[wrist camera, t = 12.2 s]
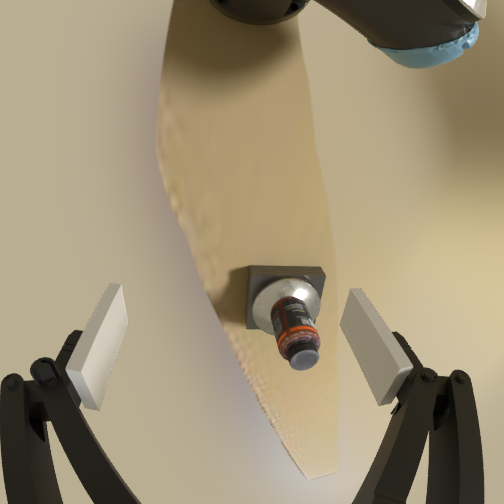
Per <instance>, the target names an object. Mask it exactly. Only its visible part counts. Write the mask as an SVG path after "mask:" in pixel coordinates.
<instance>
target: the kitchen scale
mask: <svg viewBox="0 0 504 504" xmlns="http://www.w3.org/2000/svg"><path fill="white" fill-rule="evenodd" d="M325 278H326V275H325V273H324V272H323V270H322V268H321V267H302V266H255V265H249V277H248V289H247V302H246V314H245V322H246V329H261V330H262V331H264V332H266V333H268V334H271V335H275V333H274V329H273V325H272V321H271V316H270V312H271V309H272V307H273V305H274V304H275V303H276V302H277V301H279V300H281V299H283V298H285V297H297V298H299V299H301V300H302V301H303V302H304V303H305V304H306V307H307V309H308V311H309V313H310V316H311V318H312V321H313V323H314V324H315V320H316V317H317V316H318V314H319V311H320V300H321V295H322V291H323V287H324V282H325Z"/></svg>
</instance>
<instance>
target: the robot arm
mask: <svg viewBox="0 0 504 504" xmlns="http://www.w3.org/2000/svg"><path fill="white" fill-rule="evenodd" d="M210 1H211V2H212V4H213V5H214V6H215V7H216V8H217V9H218V10H219V11H220V12H222V13H223V14H225V15H226V16H228V17H230V18H232V19H235V20H237V21H240V22H244V23H249V24H256V25H268V24H275V23H280V22H283V21H286V20H288V19H290V18H292V17H294V16H296V15H297V14H298V13H299V12H301V11H302V10H303V9H304V7H305V6H306V5H307V4H308V2H309V1H310V0H210ZM314 1H316V2H317V3H319V4H320V5H322V6H323V7H325V8H326V9H328V10H330V11H331V12H332V13H334V14H335V15H337V16H338V17H339V18H341V19H342V20H344V21H345V22H346V23H348V24H349V25H350V26H352V27H353V28H354V29H355V30H357V31H358V32H359V33H361V34H362V35H363V36H364V37H366V38H367V40H368V42H369V43H370V44H371V45H372V46H374V47H375V48H378V49H379V50H381V51H383V52H384V53H385V54H386V55H387V56H389V57H390V58H391V59H392V60H393V61H395V62H396V63H398V64H401V65H403V66H405V67H408V68H415V69H424V68H430V67H435V66H439V65H442V64H445V63H447V62H450V61H451V60H454V59H455V58H457V57H459V56H460V55H462V54H463V49H466V48H470V47H471V46H472V45H473V44H474V43H475V41H476V40H477V37H478V35H479V27H478V25H477V21H479V20H481V19H483V18H484V17H485V16H486V3H487V0H314ZM127 325H128V318H127V312H126V308H125V302H124V296H123V290H122V285H121V284H112V283H109V285H108V287H107V288H106V290H105V292H104V293H103V295H102V297H101V299H100V301H99V302H98V305H97V306H96V308H95V310H94V312H93V314H92V316H91V317H90V319H89V321H88V323H87V325H86V327H85V329H84V331H79V330H74V331H73V332H72V333H71V334H70V335H69V336H68V337H67V339H66V341H65V343H64V345H63V347H62V349H61V351H60V353H59V355H58V356H57V358H56V360H55V361H54V360H53V359H51V358H47V357H44V358H39V359H38V360H36V361H35V362H34V363H33V364H32V365H31V368H30V373H31V375H32V377H33V379H34V380H30V381H24V380H23V378H22V377H21V376H20V375H18V374H16V373H14V374H13V373H12V374H9V375H7V376H6V377H4V379H3V380H2V382H1V390H0V441H1V457H2V467H3V476H4V482H5V489H6V495H7V501H8V504H63V501H62V498H61V494H60V490H59V486H58V483H57V478H56V474H55V470H54V465H53V460H52V456H51V450H50V445H49V438H48V431H47V424H46V421H51V422H52V425H53V427H54V430H55V432H56V434H57V436H58V439H59V441H60V443H61V445H62V447H63V449H64V451H65V453H66V455H67V457H68V459H69V461H70V463H71V465H72V467H73V469H74V470H75V472H76V474H77V476H78V478H79V479H80V481H81V483H82V485H83V486H84V488H85V490H86V491H87V493H88V495H89V496H90V498H91V499H92V501H93V502H94V504H141V503H140V501H139V500H138V499H137V498H136V496H135V495H134V494H133V493H132V491H131V490H130V489H129V487H128V486H127V484H126V483H125V482H124V480H123V479H122V478H121V476H120V475H119V473H118V472H117V470H116V469H115V467H114V466H113V464H112V463H111V461H110V460H109V458H108V457H107V455H106V454H105V452H104V450H103V449H102V447H101V446H100V444H99V442H98V441H97V439H96V438H95V436H94V434H93V432H92V430H91V429H90V427H89V425H88V423H87V421H86V420H85V418H84V416H83V414H82V412H81V410H80V409H79V406H80V403H81V401H82V403H83V405H84V407H85V408H88V409H93V410H98V411H99V410H100V408H101V404H102V401H103V397H104V394H105V391H106V387H107V384H108V381H109V378H110V375H111V372H112V368H113V365H114V362H115V359H116V357H117V354H118V350H119V348H120V345H121V342H122V339H123V336H124V334H125V331H126V328H127ZM340 326H341V328H342V331H343V333H344V334H345V336H346V339H347V341H348V343H349V345H350V347H351V349H352V351H353V353H354V355H355V357H356V359H357V361H358V363H359V365H360V367H361V369H362V372H363V374H364V376H365V378H366V380H367V382H368V384H369V386H370V388H371V391H372V393H373V395H374V397H375V399H376V401H377V404H378V406H381V405H386V404H390V403H392V401H393V399H394V398H395V397H397V399H398V401H399V402H398V403H397V405H396V406H395V408H394V409H393V411H392V412H391V414H393V415H392V418H391V421H390V423H389V426H388V428H387V431H386V433H385V436H384V438H383V441H382V443H381V445H380V448H379V450H378V452H377V455H376V457H375V459H374V461H373V463H372V465H371V468H370V470H369V472H368V474H367V476H366V478H365V480H364V482H363V484H362V486H361V488H360V490H359V492H358V493H357V495H356V497H355V499H354V501H353V502H352V504H406V499H407V497H408V494H409V491H410V489H411V486H412V483H413V480H414V478H415V475H416V472H417V469H418V466H419V463H420V460H421V456H422V453H423V449H424V446H425V443H426V439H427V435H428V431H429V467H428V484H427V496H426V504H484V469H483V455H482V445H481V436H480V428H479V422H478V416H477V409H476V403H475V398H474V393H473V388H472V383H471V379H470V377H469V376H468V374H466V373H465V372H464V371H462V370H454V371H453V372H452V373H451V375H450V376H449V377H445V376H438V375H437V373H436V372H435V371H434V370H432V369H430V368H426V367H425V368H424V367H423V365H422V364H421V362H420V361H419V359H418V358H417V356H416V355H415V353H414V352H413V350H411V347H410V346H409V345H408V343H407V342H406V340H405V339H404V337H403V336H402V335H400V334H399V333H398V332H391V331H390V329H389V328H388V326H387V325H386V323H385V322H384V320H383V319H382V317H381V316H380V314H379V313H378V312H377V310H376V309H375V307H374V306H373V304H372V303H371V301H370V300H369V298H368V297H367V296H366V294H365V293H364V291H363V290H362V289H361V288H359V289H358V288H356V289H350V291H349V295H348V298H347V302H346V305H345V309H344V312H343V316H342V319H341V322H340Z"/></svg>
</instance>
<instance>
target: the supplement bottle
mask: <svg viewBox="0 0 504 504" xmlns="http://www.w3.org/2000/svg"><path fill="white" fill-rule="evenodd" d="M270 316H271V321H272V325H273V329H274V333H275V337H276V341H277V345H278V349H279V352H280V354H281V356H282V357H283V358H284V359H286V360H288V361H289V363H290V366H291V367H292V368H293V369H295V370H307V369H309V368H311V367H313V366H314V365H315V364H316V363H317V362H318V360H319V354H318V352H317V351H318V349H319V347H320V338H319V335H318V333H317V330H316V328H315V325H314V323H313V321H312V318H311V316H310V313H309V311H308V309H307V307H306V304H305V303H304V302H303V301H302V300H301V299H299V298H297V297H285V298H283V299H281V300H279V301H277V302H276V303H275V304H274V305H273V307H272V309H271V312H270Z"/></svg>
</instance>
